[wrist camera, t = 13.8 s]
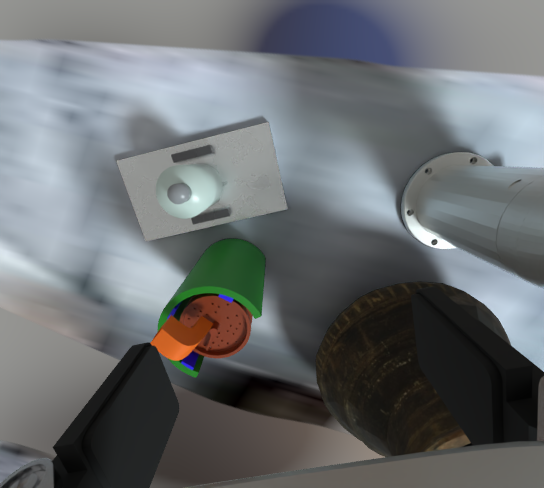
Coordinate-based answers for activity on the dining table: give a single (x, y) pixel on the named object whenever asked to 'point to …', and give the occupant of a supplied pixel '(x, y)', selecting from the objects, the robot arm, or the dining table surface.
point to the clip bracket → (231, 167)
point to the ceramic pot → (389, 373)
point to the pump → (188, 189)
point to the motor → (213, 306)
